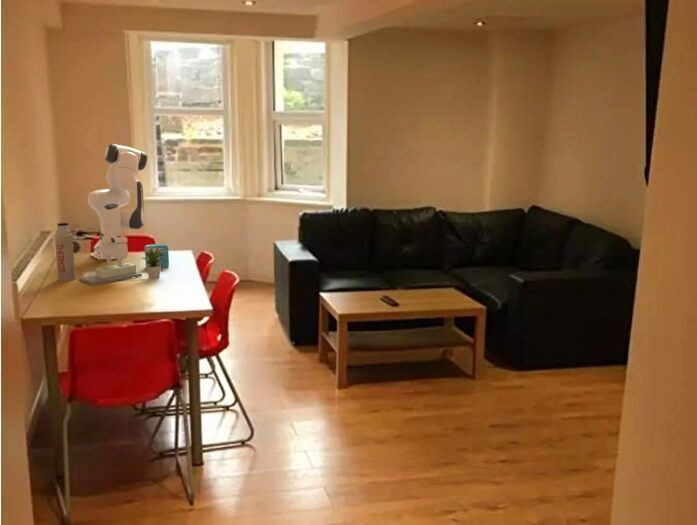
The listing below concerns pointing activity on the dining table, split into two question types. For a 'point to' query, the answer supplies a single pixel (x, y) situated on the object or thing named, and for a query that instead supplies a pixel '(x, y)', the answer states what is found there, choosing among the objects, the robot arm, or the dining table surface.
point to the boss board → (97, 280)
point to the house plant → (153, 263)
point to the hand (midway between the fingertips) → (114, 264)
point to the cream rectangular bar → (115, 270)
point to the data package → (166, 256)
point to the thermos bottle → (64, 253)
